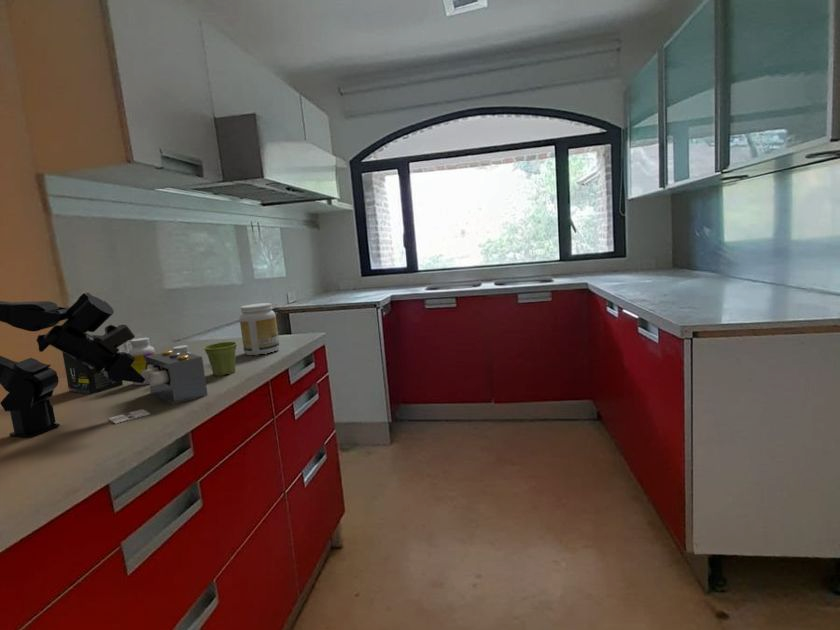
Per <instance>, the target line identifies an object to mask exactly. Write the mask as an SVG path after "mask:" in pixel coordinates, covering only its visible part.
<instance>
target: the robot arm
mask: <svg viewBox="0 0 840 630" xmlns="http://www.w3.org/2000/svg"><path fill="white" fill-rule="evenodd" d="M114 312H115V311H114V308H113V307H112V306H111V305H110V304H109V303H108V302H107V301H105V300H102V299H101V298H99V297H96V296H93V295H92V294H90V292H85V293H82V294H81V295H80V296H79V297H78V299H77V300H76V301H75V302H74V303H73V304H72V305H71V306H70V307H63V306H58V304H57V303H55V302H53V301H49V300H39V301H35V300H34V301H32V300H31V301H19V302H18V301H16V302H14V301H13V302H11V301H5V300H4V301H2V300H0V322H1V323H5V324H7V325H9V326H11V327H13V328H16V329H20V330H23V331H27V332H40V331H42V330H46V329H49V328H51V329H50V330H49V331H48V332H47V333H45V334H39V335H38V336H37V338H36V339H35V340H36V342H37V345H38V351H39V353H41V352H44V351H45V350H46V349H47V348H48V347H49V346H51V347H53V348H55V349H56V350H58V351H60V352H64V353H66V354H68V355H69V356H71V357H73V358H75V359H77V360H78V361H80V362H82V363H84V364H86V365H88V366H89V368H91V369H93V370H94V371H96V372H98V373H99V372H101V371H102V370H103V371H104V376H106V377H107V378H109V379H111V380H113V381H115V382H117V381H119V380H122V382H132V383H133V382H137V383H143V382H144V381H145V378H143V377H142V376H141V375H140V374H139V373H138V372H137V371H136V370H135V369H134V368H133V367H132V366H131V364H132V363H133V362H134V360H135V357H133V356H131V355H130V354H129V352H128V353H127V352H124V351H121V352H119V351H120V348H118V347H120V346H122V345H123V344H125V343H127V342H128V341H131V340H133V339H135V338H136V336H135V334H134V333H133V331H132V330H131V329H130V327H129V326H128V325H126V324H119V325H118V326H115V325H113V324H109V325H107V326H106V327H104V334H103V335H101V336H102V337H101V338H98V337H95V336H91V334H89V333H94V332H96V331H97V330H98V329H99V328H100V327H101V326H102V325H103V324H104V323H105V322H106V321H107V320H108V319H109V318H110V317H111V316H112V315H113V314H115V313H114ZM61 321H62V322H63V321H65V322H63V323H62V324H61V325H58V324H59V323H60V322H61ZM87 332H89V333H87ZM116 353H117V354H116ZM115 354H116V355H115ZM59 381H60V380H59V377H58V373H57V371H56V370H55V369H53V368H51V364H47V363H44V362H41V361H39V360H37V359H36V358H33V357H29V358H26V359H24V360H20V361H14V360H13V359H9V358H7V357H4V356H3V355H0V385H1V386H2V388H3V389H4V391H6V392H7V394H6V395H5V396H4V398H3V399H2V400H0V405H1V407H2V409H3V410H4V412H9V413H10V418H11V424H12V428H13V429H12V430H13V431H11V432H10V433H9V434H8V435H9V436H10V437H20V438H21V437H22V438H23V437H25V438H32V437H35V436H37V435H40V434H42V433H45V432H47V431H50V430H53V429H54V428H55V429H56V428H58V427H59V426H61V424H60V423H58V422H57V423H56V415H55V411H54V406H53V404H51V401H50V398H52V397H53V395H54V391H55V389H56V388H57V386H58V384H59Z"/></svg>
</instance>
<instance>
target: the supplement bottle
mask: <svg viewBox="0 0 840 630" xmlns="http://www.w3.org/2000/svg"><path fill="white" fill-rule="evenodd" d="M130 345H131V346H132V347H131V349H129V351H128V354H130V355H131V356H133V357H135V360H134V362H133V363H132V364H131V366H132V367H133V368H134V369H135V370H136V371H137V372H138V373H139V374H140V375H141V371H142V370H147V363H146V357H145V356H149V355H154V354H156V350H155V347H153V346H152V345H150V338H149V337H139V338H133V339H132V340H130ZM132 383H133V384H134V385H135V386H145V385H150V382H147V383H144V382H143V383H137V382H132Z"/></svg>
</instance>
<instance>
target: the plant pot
mask: <svg viewBox="0 0 840 630" xmlns="http://www.w3.org/2000/svg"><path fill="white" fill-rule="evenodd" d="M237 345H238V342H236V341H223V342H217V343H212V344H208V345H205V346H204V347H202V348H203V350H204V352H205V354H206V355H207V359H208V361H209V364H210V366H211V367H210V368H211V371H212V374H213V375H214V376H216V377H217V376H218V377H221V376H222V375H223V376H225V375H231V373H232V374H233V372H234V373H236V350H237Z"/></svg>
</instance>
